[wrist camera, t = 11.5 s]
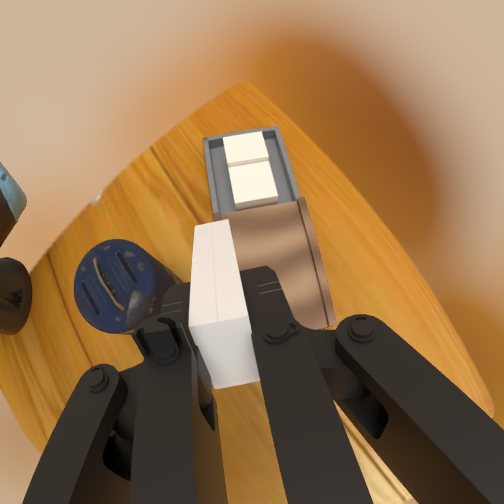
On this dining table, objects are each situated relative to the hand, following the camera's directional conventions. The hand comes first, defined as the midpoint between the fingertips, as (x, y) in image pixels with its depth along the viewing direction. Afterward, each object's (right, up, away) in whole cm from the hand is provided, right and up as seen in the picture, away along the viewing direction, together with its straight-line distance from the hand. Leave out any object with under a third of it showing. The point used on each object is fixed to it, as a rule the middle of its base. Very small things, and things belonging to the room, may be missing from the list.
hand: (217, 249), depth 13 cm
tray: (+1, +12, +34) cm, 36 cm away
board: (+4, -3, +29) cm, 29 cm away
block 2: (+2, +8, +32) cm, 33 cm away
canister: (-12, -8, +28) cm, 31 cm away
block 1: (+1, +12, +30) cm, 32 cm away
